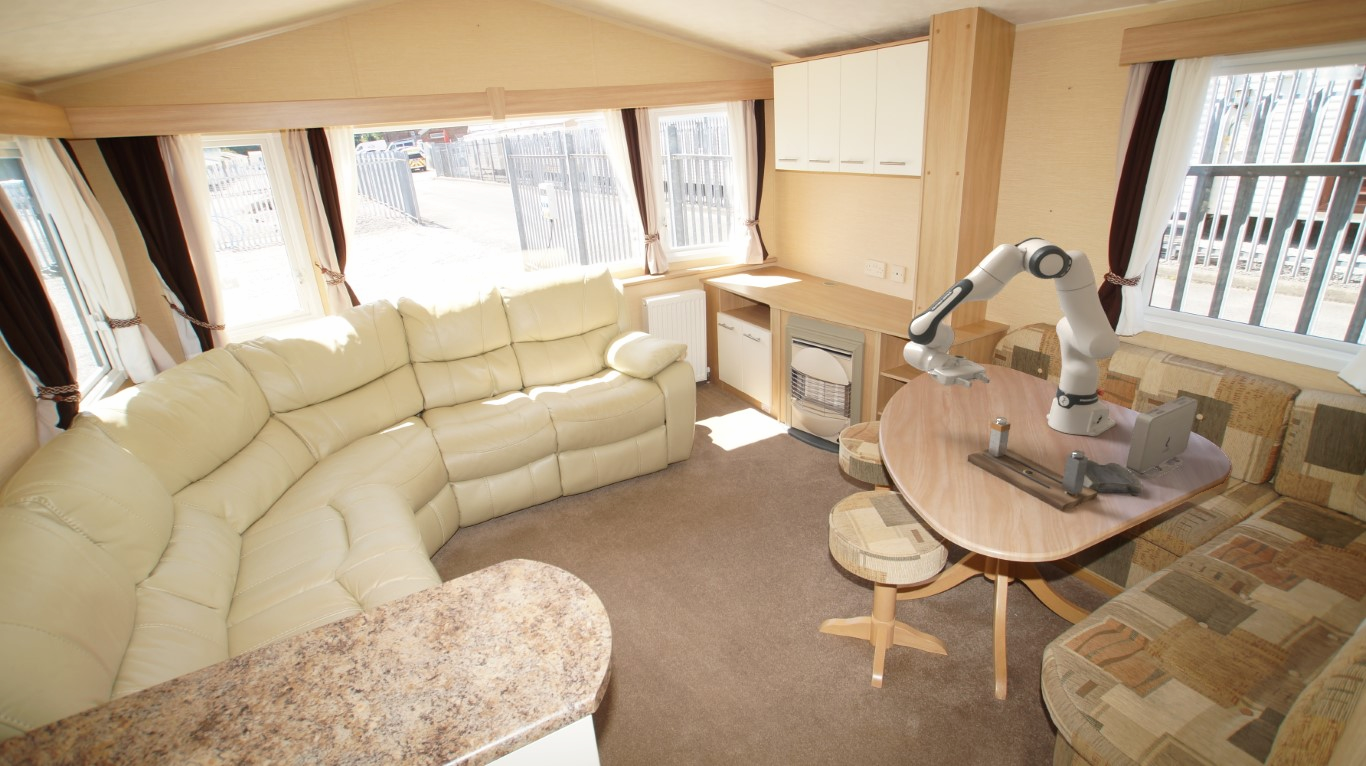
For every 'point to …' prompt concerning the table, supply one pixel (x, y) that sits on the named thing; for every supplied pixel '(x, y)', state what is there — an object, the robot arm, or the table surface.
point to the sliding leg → (999, 436)
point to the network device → (1161, 436)
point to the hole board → (1031, 478)
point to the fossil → (1111, 479)
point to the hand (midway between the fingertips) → (979, 383)
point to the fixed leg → (1074, 472)
